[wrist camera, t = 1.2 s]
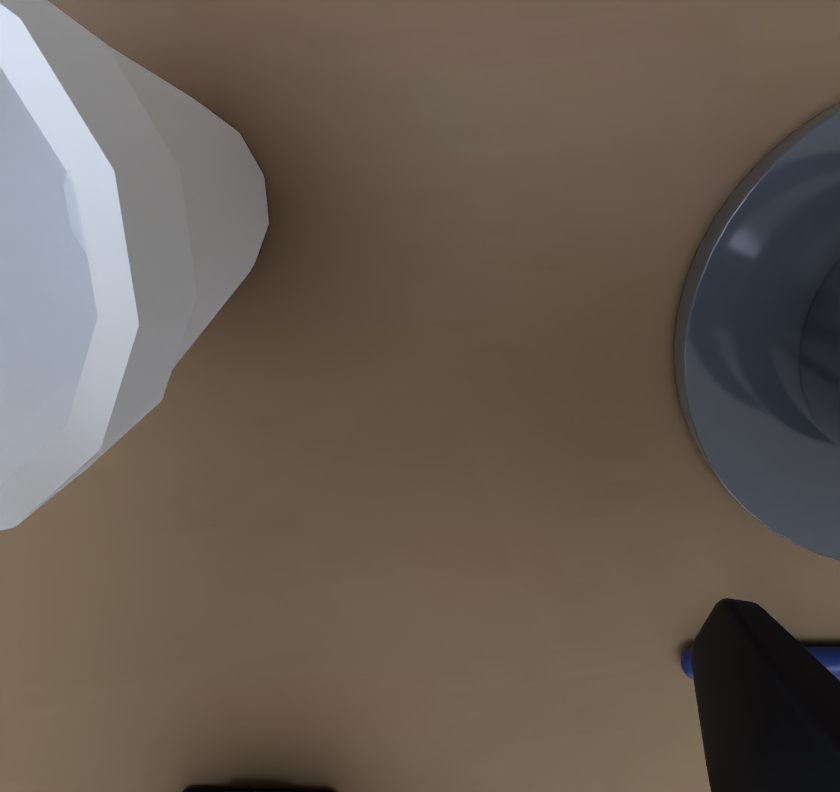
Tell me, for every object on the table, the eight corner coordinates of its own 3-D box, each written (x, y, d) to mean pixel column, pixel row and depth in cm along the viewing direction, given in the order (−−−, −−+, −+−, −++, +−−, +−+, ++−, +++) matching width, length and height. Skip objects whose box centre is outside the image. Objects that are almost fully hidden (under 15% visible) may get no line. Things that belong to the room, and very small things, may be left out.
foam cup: (263, -4, 21) (-35, -228, 9) (357, 308, 24) (229, 477, 11) (-30, 93, 22) (-647, 18, 10) (89, 378, 25) (-286, 597, 13)
